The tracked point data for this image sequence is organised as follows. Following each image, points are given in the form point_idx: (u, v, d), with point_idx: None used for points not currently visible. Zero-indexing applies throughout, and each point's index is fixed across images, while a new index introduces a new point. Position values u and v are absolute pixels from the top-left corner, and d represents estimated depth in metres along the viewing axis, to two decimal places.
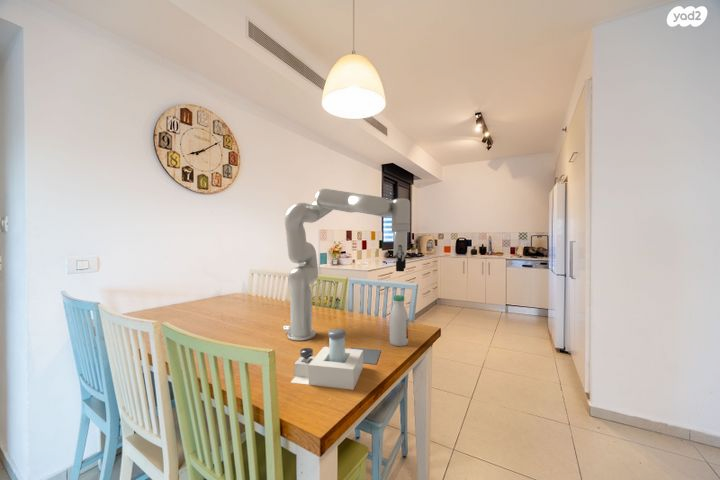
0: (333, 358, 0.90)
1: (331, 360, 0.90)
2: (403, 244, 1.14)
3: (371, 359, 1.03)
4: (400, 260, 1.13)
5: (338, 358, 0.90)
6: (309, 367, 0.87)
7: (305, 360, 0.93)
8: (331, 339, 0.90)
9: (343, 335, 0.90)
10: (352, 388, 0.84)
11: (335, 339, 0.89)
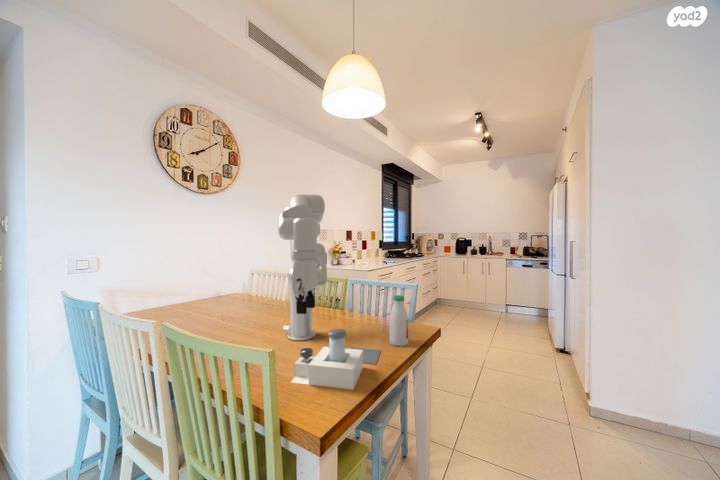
0: (333, 358, 0.90)
1: (331, 360, 0.90)
2: (303, 277, 0.89)
3: (371, 359, 1.03)
4: (300, 301, 0.89)
5: (338, 358, 0.90)
6: (309, 367, 0.87)
7: (305, 360, 0.93)
8: (331, 339, 0.90)
9: (343, 335, 0.90)
10: (352, 388, 0.84)
11: (335, 339, 0.89)
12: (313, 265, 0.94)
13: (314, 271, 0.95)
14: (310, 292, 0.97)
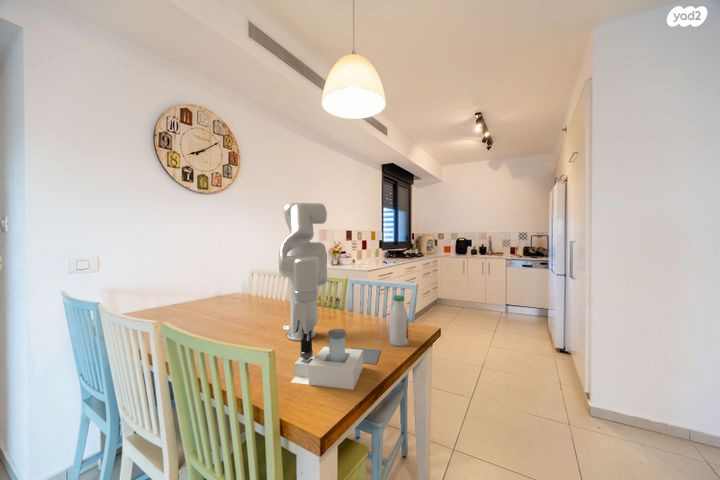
0: (333, 358, 0.90)
1: (331, 360, 0.90)
2: (304, 319, 0.89)
3: (371, 359, 1.03)
4: None
5: (338, 358, 0.90)
6: (309, 367, 0.87)
7: (305, 361, 0.93)
8: (331, 339, 0.90)
9: (343, 335, 0.90)
10: (352, 388, 0.84)
11: (335, 339, 0.89)
12: (313, 305, 0.94)
13: (314, 310, 0.95)
14: None
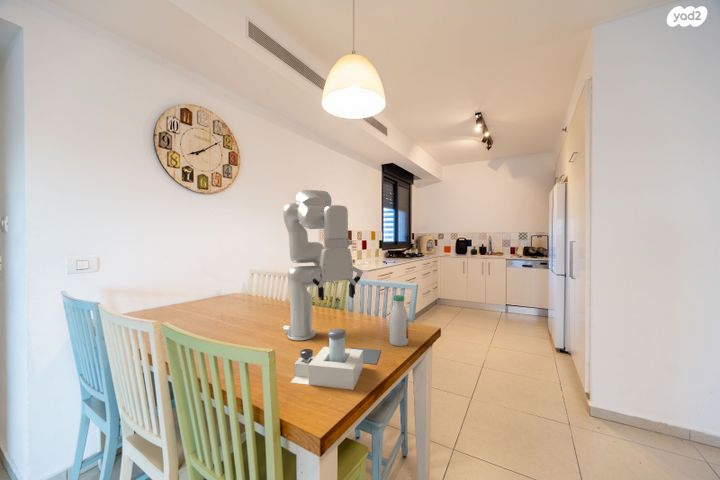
0: (333, 358, 0.90)
1: (331, 360, 0.90)
2: (322, 265, 0.88)
3: (371, 359, 1.03)
4: (317, 285, 0.89)
5: (338, 358, 0.90)
6: (309, 367, 0.87)
7: (305, 361, 0.93)
8: (331, 339, 0.90)
9: (343, 335, 0.90)
10: (352, 388, 0.84)
11: (335, 339, 0.89)
12: (340, 255, 0.89)
13: (343, 261, 0.89)
14: None
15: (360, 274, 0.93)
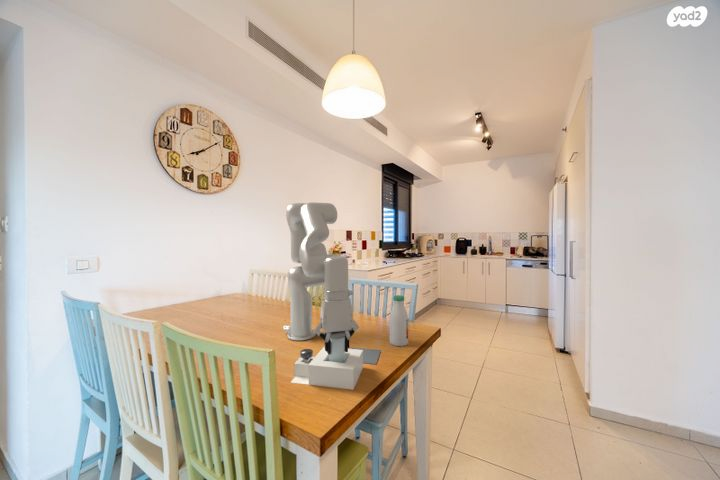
0: (333, 358, 0.90)
1: (331, 360, 0.90)
2: (322, 317, 0.89)
3: (371, 359, 1.03)
4: None
5: (338, 358, 0.90)
6: (309, 367, 0.87)
7: (305, 361, 0.93)
8: (331, 339, 0.90)
9: (343, 335, 0.90)
10: (352, 388, 0.84)
11: (335, 339, 0.89)
12: (340, 306, 0.89)
13: (343, 313, 0.90)
14: (346, 335, 0.93)
15: (356, 328, 0.93)
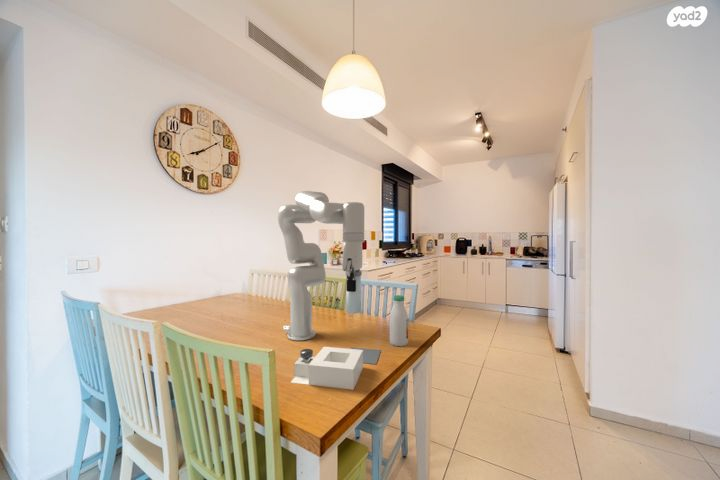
0: (357, 294, 0.99)
1: (355, 297, 0.98)
2: (353, 257, 0.95)
3: (371, 359, 1.03)
4: (351, 279, 0.97)
5: (360, 293, 1.00)
6: (309, 367, 0.87)
7: (305, 361, 0.93)
8: (355, 277, 0.98)
9: None
10: (352, 388, 0.84)
11: (359, 276, 0.99)
12: (360, 247, 1.00)
13: (361, 252, 1.01)
14: None
15: None
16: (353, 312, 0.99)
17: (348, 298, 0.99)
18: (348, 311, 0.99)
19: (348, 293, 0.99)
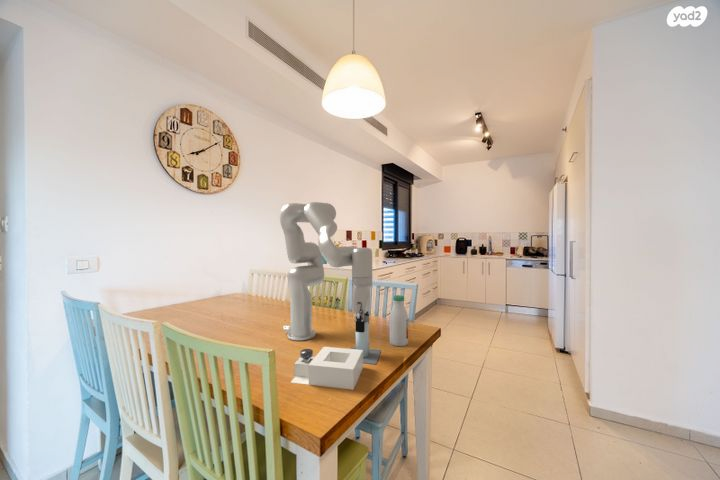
0: (366, 339, 1.05)
1: (364, 342, 1.04)
2: (363, 301, 1.01)
3: (371, 359, 1.03)
4: (359, 320, 1.01)
5: (368, 337, 1.06)
6: (309, 367, 0.87)
7: (305, 361, 0.93)
8: None
9: None
10: (352, 388, 0.84)
11: (367, 322, 1.05)
12: (369, 289, 1.06)
13: (369, 294, 1.07)
14: None
15: None
16: (363, 356, 1.04)
17: (357, 343, 1.05)
18: None
19: (357, 338, 1.05)
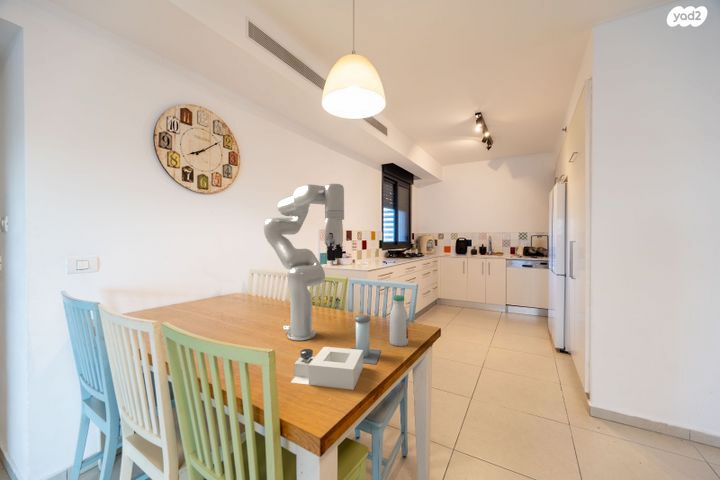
0: (366, 339, 1.05)
1: (364, 342, 1.04)
2: (334, 232, 1.08)
3: (371, 359, 1.03)
4: (330, 249, 1.07)
5: None
6: (309, 367, 0.87)
7: (305, 361, 0.93)
8: (364, 323, 1.04)
9: None
10: (352, 388, 0.84)
11: (368, 322, 1.05)
12: (341, 223, 1.13)
13: (341, 229, 1.14)
14: (338, 246, 1.18)
15: None
16: (363, 356, 1.04)
17: (358, 343, 1.05)
18: None
19: (358, 338, 1.05)
